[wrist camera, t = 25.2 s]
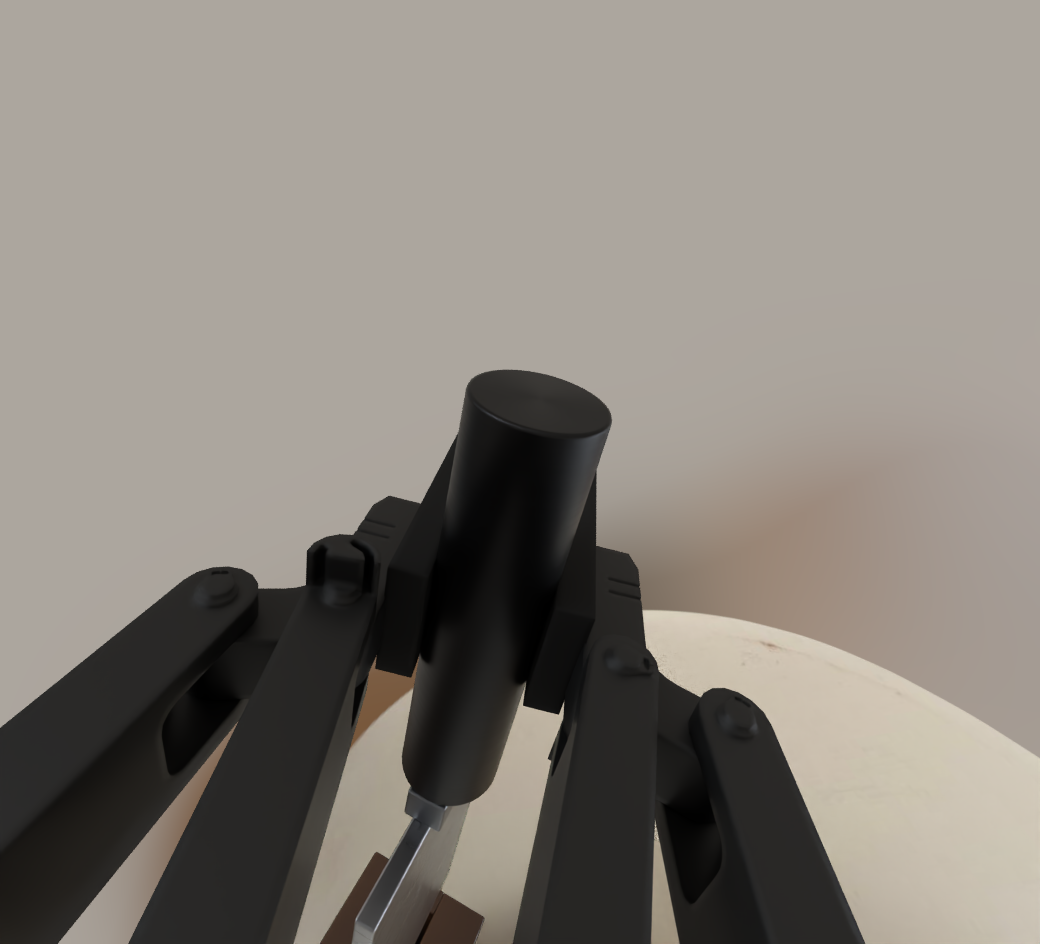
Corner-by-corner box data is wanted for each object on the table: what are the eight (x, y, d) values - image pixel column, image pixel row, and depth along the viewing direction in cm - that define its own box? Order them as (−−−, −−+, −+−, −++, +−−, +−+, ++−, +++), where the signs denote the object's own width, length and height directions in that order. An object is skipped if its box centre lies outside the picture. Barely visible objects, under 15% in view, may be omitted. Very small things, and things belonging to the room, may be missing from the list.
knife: (307, 1065, 18) (340, 457, 6) (420, 852, 24) (544, 331, 12) (370, 1111, 17) (533, 539, 6) (469, 881, 23) (650, 366, 12)
